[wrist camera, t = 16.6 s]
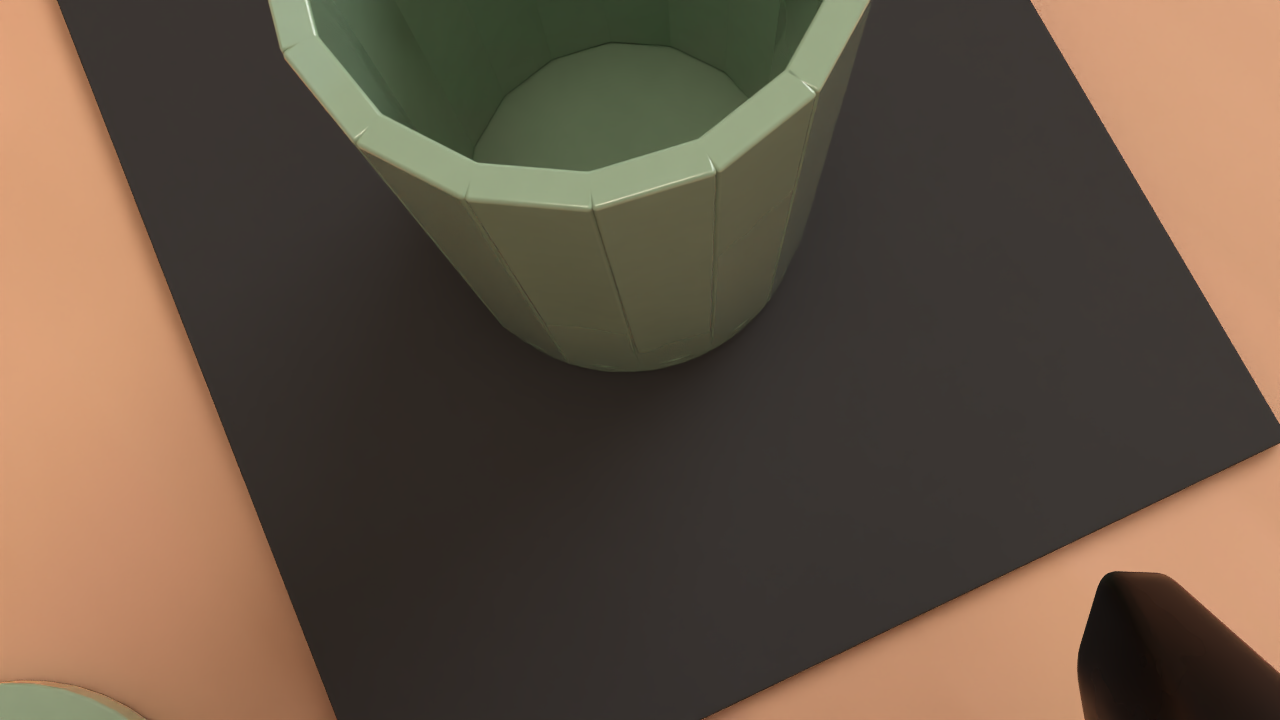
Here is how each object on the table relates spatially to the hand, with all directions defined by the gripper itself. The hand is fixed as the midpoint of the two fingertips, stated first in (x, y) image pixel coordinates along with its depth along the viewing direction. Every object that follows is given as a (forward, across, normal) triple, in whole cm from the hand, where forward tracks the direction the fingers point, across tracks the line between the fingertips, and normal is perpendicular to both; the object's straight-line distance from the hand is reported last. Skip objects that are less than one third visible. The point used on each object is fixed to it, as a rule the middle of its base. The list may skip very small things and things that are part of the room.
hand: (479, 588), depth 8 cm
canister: (+14, 0, +4) cm, 15 cm away
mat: (+15, 0, +4) cm, 15 cm away
